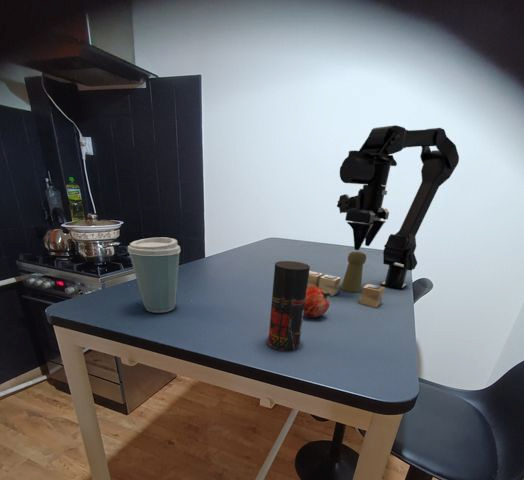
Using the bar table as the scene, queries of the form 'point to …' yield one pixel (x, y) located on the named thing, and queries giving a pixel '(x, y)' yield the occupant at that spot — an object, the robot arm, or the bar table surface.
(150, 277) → the disposable coffee cup
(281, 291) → the deodorant
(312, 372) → the bar table surface
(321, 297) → the pomegranate
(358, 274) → the olive tapered pawn
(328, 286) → the block
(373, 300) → the block
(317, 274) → the block
